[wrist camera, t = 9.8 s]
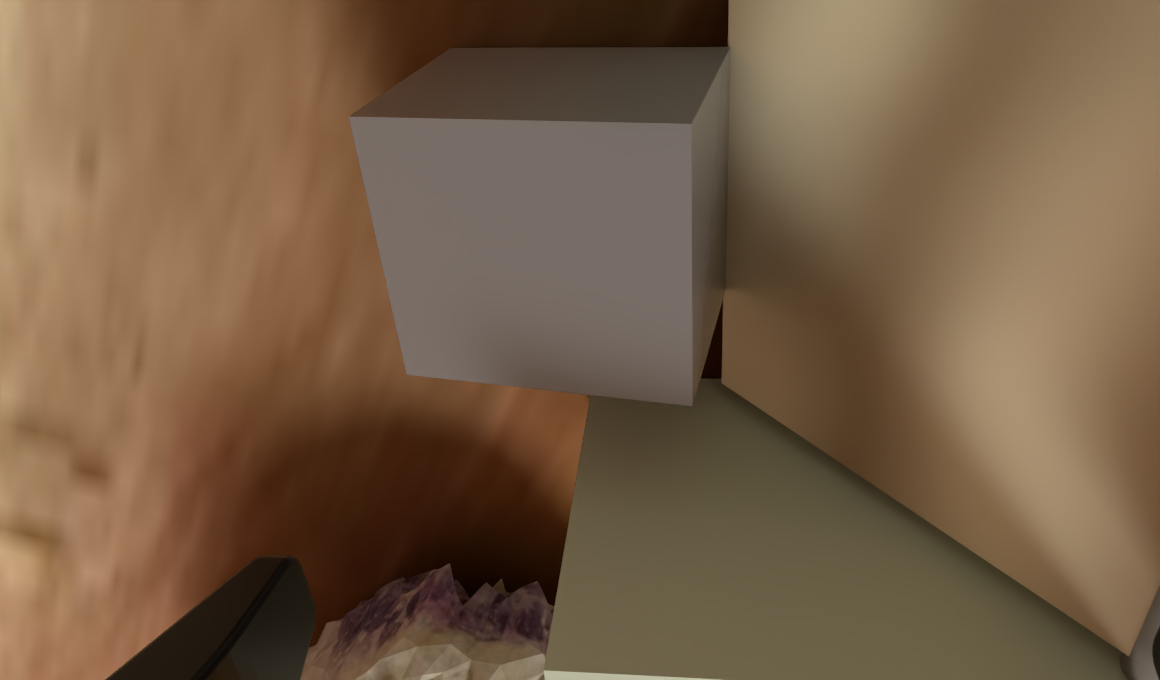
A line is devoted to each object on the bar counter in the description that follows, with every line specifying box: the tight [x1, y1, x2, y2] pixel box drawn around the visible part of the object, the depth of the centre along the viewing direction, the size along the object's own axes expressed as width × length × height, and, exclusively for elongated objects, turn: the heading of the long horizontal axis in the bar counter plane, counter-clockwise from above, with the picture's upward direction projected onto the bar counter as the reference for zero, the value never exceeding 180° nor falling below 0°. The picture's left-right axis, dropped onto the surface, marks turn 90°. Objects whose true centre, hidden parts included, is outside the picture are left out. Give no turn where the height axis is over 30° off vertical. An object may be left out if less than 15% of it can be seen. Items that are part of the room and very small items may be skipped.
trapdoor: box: [722, 0, 1160, 680], centre depth 13 cm, size 16×12×4 cm
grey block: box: [349, 47, 731, 406], centre depth 17 cm, size 4×6×6 cm
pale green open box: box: [544, 378, 1128, 680], centre depth 14 cm, size 18×16×9 cm
